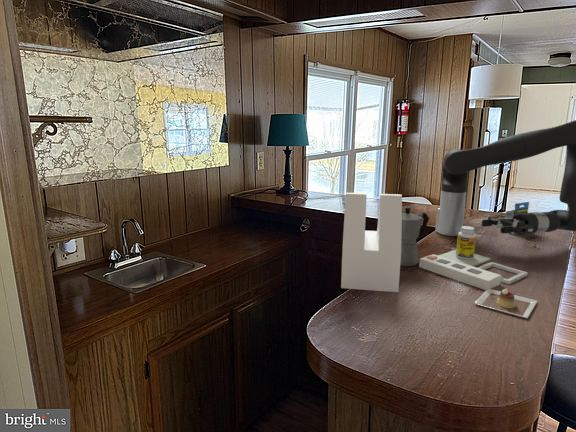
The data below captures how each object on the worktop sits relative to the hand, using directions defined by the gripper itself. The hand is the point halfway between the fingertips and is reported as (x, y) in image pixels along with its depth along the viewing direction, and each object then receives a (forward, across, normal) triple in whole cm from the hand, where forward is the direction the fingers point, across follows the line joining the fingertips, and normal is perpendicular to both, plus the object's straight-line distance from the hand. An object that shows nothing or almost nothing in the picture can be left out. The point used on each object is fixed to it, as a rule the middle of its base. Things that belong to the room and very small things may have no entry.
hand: (491, 226), depth 138 cm
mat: (+10, 0, +10) cm, 14 cm away
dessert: (+22, +32, +11) cm, 40 cm away
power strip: (+20, +11, +10) cm, 26 cm away
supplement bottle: (+10, 0, +10) cm, 14 cm away
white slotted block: (+47, +5, +11) cm, 49 cm away
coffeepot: (+29, -3, +11) cm, 31 cm away
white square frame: (+9, +15, +10) cm, 20 cm away
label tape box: (-32, -22, +10) cm, 40 cm away
